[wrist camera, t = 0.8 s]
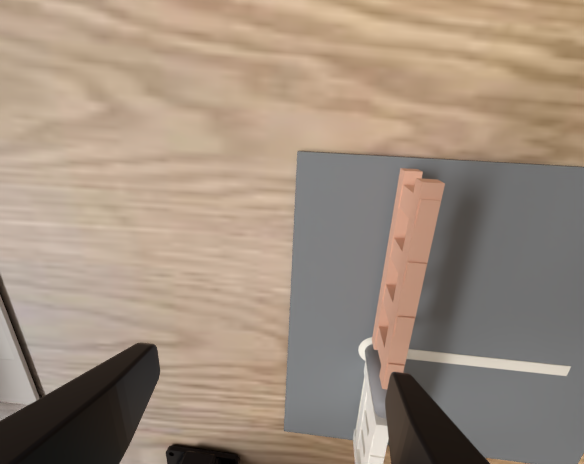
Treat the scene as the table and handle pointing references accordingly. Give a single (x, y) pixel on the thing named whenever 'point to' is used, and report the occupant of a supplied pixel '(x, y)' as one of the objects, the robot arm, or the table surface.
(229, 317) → the table surface
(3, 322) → the laptop
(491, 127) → the table surface
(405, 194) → the fence gate
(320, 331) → the mat
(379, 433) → the fence fixed
